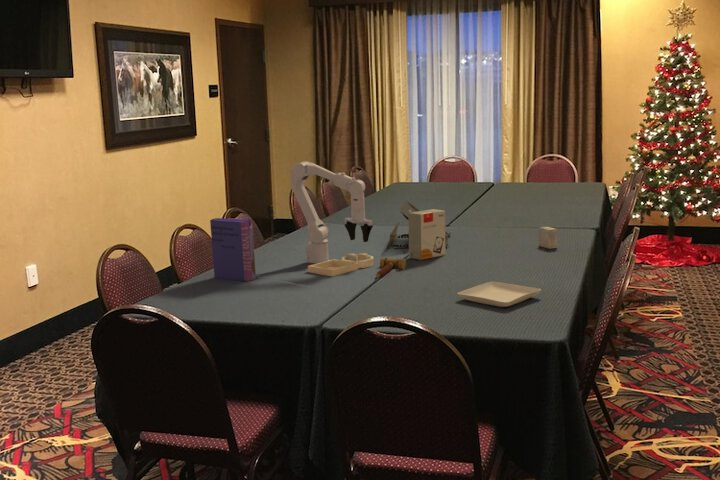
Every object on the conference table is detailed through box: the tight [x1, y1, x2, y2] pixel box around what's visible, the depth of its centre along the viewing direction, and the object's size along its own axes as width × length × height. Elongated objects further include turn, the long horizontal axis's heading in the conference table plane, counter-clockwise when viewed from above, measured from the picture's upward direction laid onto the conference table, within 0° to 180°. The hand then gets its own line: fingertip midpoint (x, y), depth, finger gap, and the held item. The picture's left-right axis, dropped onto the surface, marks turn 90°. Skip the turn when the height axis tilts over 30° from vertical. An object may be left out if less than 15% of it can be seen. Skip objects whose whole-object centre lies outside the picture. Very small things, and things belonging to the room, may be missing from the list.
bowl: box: [341, 254, 375, 269], centre depth 329 cm, size 13×13×4 cm
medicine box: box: [538, 226, 558, 250], centre depth 351 cm, size 8×4×9 cm, turn 22°
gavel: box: [375, 257, 407, 279], centre depth 315 cm, size 21×5×10 cm
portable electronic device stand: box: [388, 200, 451, 250], centre depth 374 cm, size 33×28×18 cm
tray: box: [307, 259, 359, 277], centre depth 320 cm, size 14×15×3 cm
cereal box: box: [209, 217, 257, 283], centre depth 313 cm, size 17×5×24 cm, turn 59°
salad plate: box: [457, 281, 542, 308], centre depth 270 cm, size 21×21×3 cm
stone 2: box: [356, 252, 369, 261], centre depth 328 cm, size 4×4×4 cm
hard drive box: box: [408, 208, 446, 261], centre depth 341 cm, size 16×8×20 cm, turn 130°
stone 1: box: [345, 252, 357, 261], centre depth 328 cm, size 4×4×4 cm
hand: (359, 240), depth 332 cm, fingers open, 7 cm apart
